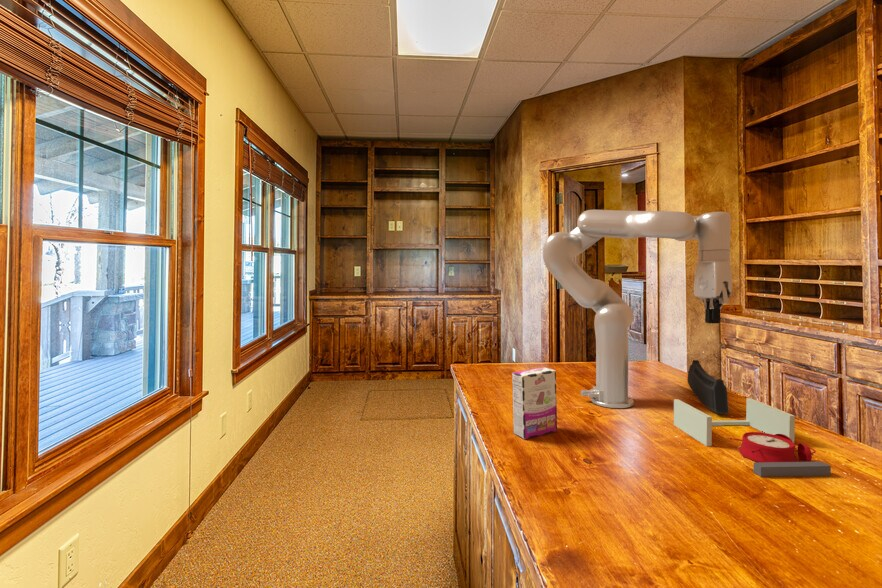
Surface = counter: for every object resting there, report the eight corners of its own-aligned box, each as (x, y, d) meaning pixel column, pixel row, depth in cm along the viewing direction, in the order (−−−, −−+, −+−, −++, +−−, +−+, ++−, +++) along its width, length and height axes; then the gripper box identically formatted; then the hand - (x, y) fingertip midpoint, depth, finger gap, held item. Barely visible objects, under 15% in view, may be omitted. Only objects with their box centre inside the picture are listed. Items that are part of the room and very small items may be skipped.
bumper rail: (760, 476, 84) (760, 467, 83) (753, 472, 86) (753, 462, 85) (830, 475, 84) (830, 466, 83) (821, 471, 86) (821, 461, 85)
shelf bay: (706, 446, 99) (706, 417, 98) (673, 424, 113) (673, 399, 112) (794, 444, 98) (794, 415, 98) (750, 423, 112) (751, 398, 112)
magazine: (732, 389, 114) (701, 341, 141) (719, 388, 115) (690, 341, 142) (725, 440, 120) (696, 385, 147) (712, 439, 121) (686, 384, 148)
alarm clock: (723, 432, 98) (786, 418, 97) (729, 458, 98) (791, 443, 98) (756, 451, 87) (827, 435, 87) (762, 480, 88) (833, 463, 87)
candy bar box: (544, 425, 114) (544, 366, 113) (557, 431, 109) (557, 370, 108) (511, 433, 108) (511, 371, 108) (523, 440, 104) (523, 375, 103)
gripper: (684, 258, 123) (683, 320, 124) (717, 256, 108) (716, 326, 109) (710, 258, 123) (709, 319, 124) (746, 256, 108) (745, 326, 109)
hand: (712, 322), depth 116 cm, fingers closed
